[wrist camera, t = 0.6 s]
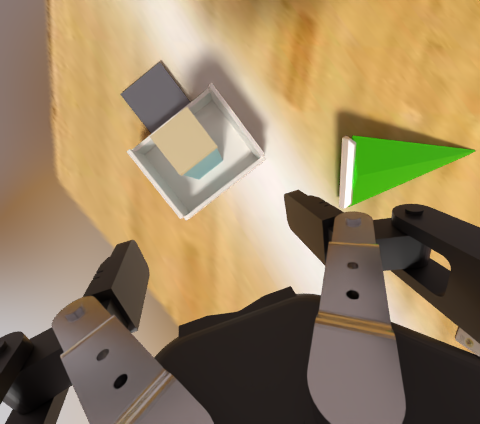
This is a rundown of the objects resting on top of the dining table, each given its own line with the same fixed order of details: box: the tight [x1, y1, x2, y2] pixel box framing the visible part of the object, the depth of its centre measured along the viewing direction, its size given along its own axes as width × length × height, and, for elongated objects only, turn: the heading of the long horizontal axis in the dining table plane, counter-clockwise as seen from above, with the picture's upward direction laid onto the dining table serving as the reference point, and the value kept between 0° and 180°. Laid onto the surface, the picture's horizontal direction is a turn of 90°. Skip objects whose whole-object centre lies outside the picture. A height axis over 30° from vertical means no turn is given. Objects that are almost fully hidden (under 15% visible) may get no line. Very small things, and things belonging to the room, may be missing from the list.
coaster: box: [121, 62, 190, 134], centre depth 36 cm, size 8×8×1 cm
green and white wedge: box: [339, 135, 475, 209], centre depth 36 cm, size 11×5×25 cm
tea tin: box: [150, 107, 223, 180], centre depth 30 cm, size 5×5×12 cm
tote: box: [127, 83, 265, 220], centre depth 34 cm, size 15×13×6 cm
